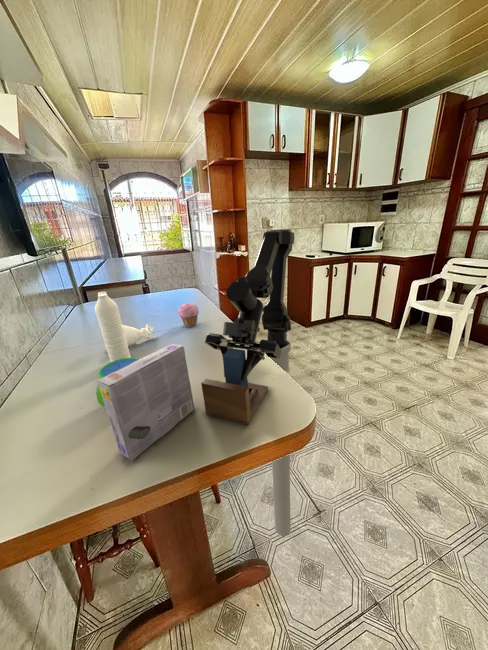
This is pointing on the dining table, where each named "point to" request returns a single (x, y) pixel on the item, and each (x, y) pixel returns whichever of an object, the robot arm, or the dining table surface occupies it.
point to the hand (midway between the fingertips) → (233, 379)
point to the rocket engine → (137, 334)
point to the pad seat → (232, 400)
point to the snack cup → (111, 369)
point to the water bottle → (111, 327)
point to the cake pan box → (147, 399)
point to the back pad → (234, 366)
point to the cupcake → (188, 314)
